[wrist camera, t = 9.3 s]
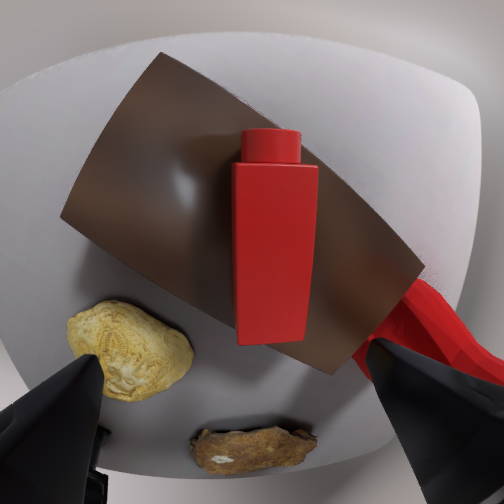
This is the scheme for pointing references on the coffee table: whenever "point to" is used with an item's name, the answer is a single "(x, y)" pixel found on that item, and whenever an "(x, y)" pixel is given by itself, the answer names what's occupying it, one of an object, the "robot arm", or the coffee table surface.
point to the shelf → (227, 213)
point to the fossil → (130, 349)
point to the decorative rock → (250, 449)
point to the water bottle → (434, 335)
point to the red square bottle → (272, 237)
